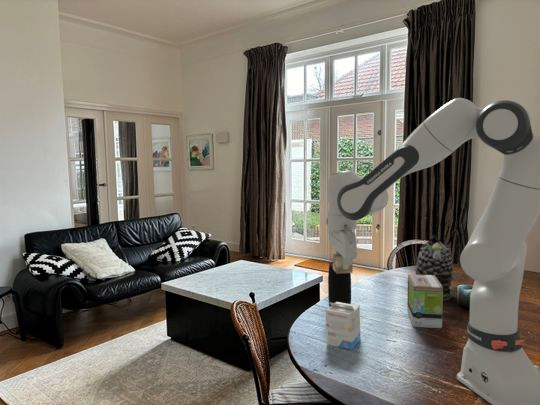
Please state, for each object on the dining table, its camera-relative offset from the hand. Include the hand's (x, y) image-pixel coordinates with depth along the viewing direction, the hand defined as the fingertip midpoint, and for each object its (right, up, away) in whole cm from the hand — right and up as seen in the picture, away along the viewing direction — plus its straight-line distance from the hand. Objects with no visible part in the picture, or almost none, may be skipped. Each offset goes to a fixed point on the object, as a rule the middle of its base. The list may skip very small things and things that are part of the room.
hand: (342, 265), depth 128 cm
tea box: (+33, -22, +18) cm, 44 cm away
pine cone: (+47, -19, +43) cm, 66 cm away
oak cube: (0, -2, 0) cm, 2 cm away
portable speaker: (+4, -22, +27) cm, 35 cm away
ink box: (+1, -25, +3) cm, 26 cm away
